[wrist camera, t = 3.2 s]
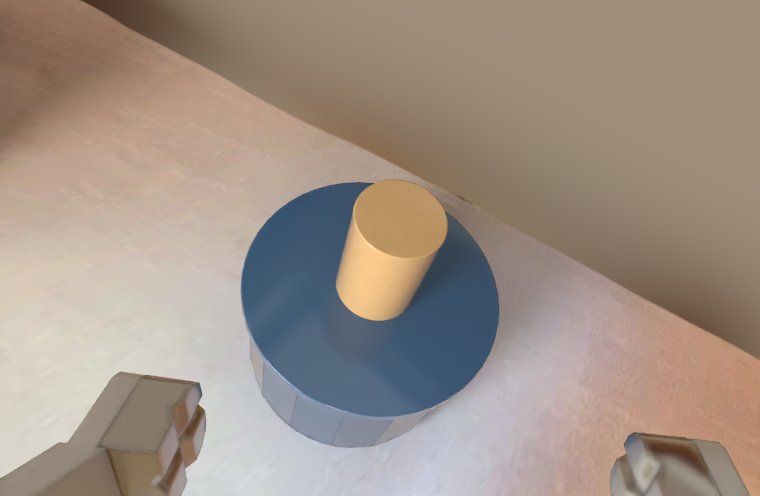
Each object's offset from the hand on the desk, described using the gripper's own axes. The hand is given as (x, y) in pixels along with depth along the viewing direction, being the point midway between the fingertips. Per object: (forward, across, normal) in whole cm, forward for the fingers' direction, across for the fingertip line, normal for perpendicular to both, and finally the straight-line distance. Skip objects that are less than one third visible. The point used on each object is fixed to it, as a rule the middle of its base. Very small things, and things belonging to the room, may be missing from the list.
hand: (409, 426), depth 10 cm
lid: (+17, +2, +10) cm, 20 cm away
